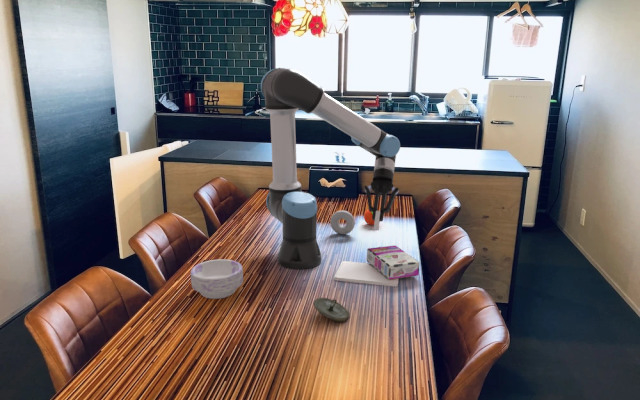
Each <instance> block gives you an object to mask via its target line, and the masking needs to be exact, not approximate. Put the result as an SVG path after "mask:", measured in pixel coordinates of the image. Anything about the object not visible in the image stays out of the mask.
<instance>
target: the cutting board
mask: <svg viewBox="0 0 640 400" xmlns="http://www.w3.org/2000/svg"><path fill="white" fill-rule="evenodd" d="M333 278H334V279H333V280H334V281H340V282H349V283H356V284H357V283H359V284H367V285H374V286H375V285H377V286H384V287H385V286H386V287H394V286H395V288H397V287H398V285H399V280H400V278H396V279H390V280H389V279H388V278H386V277H385V276H384V275H383V274H382V273H380V272H379V271H378V270H377V269H376V268H375V267H373V266H372V265H371V264H370V263H369V262H367V263H366V262H357V261H349V260H348V261H345V260H342V261H341V263H340V265H339V267H338V268H337V271H336V273H335V275H334V277H333Z"/></svg>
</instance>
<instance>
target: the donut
mask: <svg viewBox="0 0 640 400" xmlns="http://www.w3.org/2000/svg"><path fill="white" fill-rule="evenodd" d="M341 219H342V220H344V221H345V222H346V224H345V225H341V224H340V223H339V221H340V220H341ZM329 222H330V223H329V224H330V227H331V228H332V230H333V232H335V233H337V234H339V235H348V234H351V232H352V231H353V230H354V228H355V225H356V222H355V218H354V216H353V214H352V213H350V211H347V210H338V211H335V212H334V213H333V214H332V215H331V217H330V221H329Z"/></svg>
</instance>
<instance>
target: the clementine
mask: <svg viewBox="0 0 640 400" xmlns="http://www.w3.org/2000/svg"><path fill="white" fill-rule="evenodd" d="M372 215H373V212H370V211H369V209H367V210H366V211H365V212H364V214H363V218H364V219H363V220H364V221H365V223H366V224H368V225H370V226H374V222H375V221H373V220H372Z"/></svg>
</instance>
